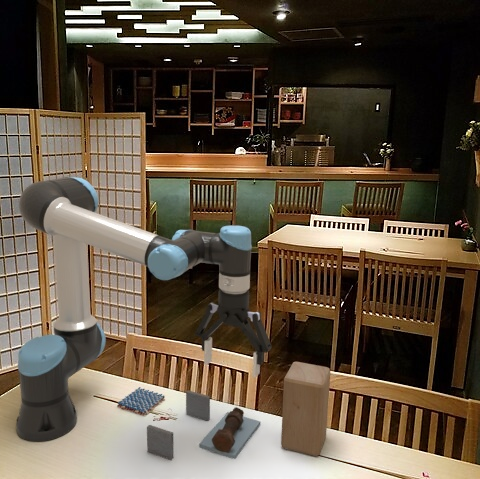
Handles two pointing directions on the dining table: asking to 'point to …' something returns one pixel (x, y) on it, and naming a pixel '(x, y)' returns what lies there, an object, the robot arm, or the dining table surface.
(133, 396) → the woven mat
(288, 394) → the wooden block
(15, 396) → the dining table surface
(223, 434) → the bolt
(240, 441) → the slate pad
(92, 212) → the robot arm
